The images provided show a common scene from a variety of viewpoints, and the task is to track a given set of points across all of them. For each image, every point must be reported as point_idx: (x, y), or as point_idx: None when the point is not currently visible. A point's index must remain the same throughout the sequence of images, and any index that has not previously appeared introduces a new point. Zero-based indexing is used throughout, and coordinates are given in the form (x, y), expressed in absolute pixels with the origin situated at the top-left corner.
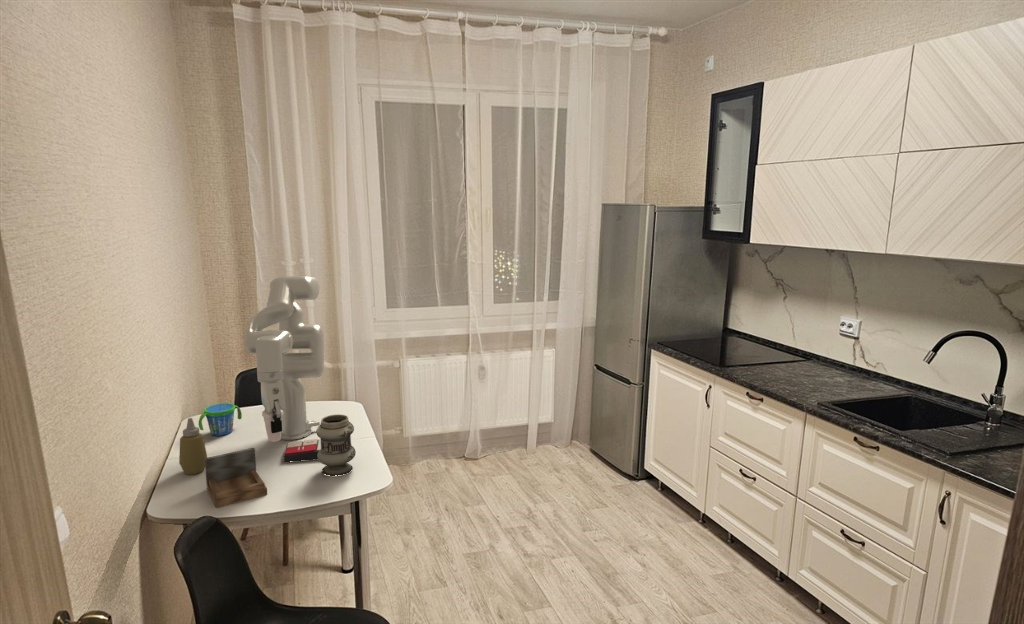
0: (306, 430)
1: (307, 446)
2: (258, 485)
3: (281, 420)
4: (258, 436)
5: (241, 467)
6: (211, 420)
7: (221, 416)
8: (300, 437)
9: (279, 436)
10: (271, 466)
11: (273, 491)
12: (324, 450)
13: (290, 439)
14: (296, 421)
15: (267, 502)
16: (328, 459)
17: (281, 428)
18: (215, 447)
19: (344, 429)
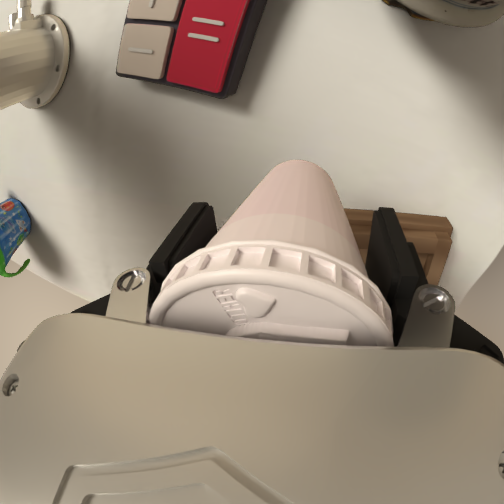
0: (40, 26)
1: (196, 3)
2: (446, 255)
3: (414, 269)
4: (34, 148)
5: None
6: (10, 255)
7: (1, 245)
8: (66, 38)
9: (332, 185)
10: (245, 141)
11: (443, 197)
12: (485, 5)
13: (67, 66)
14: (18, 56)
15: (482, 232)
16: (500, 17)
17: (396, 223)
18: (74, 240)
19: None
